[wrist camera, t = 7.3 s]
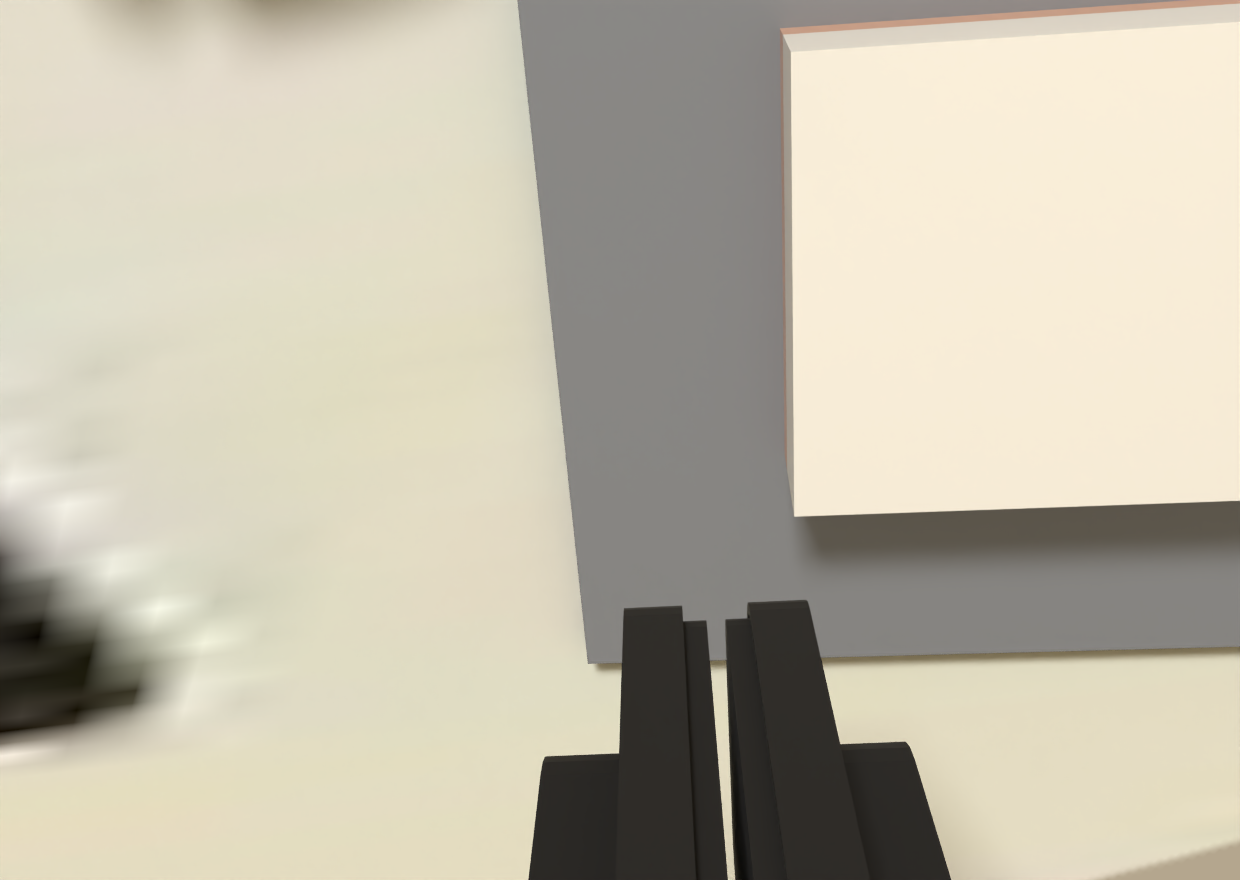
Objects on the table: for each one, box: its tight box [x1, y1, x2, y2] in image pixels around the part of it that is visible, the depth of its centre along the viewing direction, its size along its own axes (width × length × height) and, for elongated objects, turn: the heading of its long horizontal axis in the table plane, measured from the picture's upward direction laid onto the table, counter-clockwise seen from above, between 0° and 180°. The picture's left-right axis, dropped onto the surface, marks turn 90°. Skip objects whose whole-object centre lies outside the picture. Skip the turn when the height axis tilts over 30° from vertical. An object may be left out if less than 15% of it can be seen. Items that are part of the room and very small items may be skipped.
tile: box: [780, 0, 1240, 517], centre depth 20 cm, size 8×2×10 cm
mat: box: [518, 0, 1240, 664], centre depth 21 cm, size 18×16×1 cm
